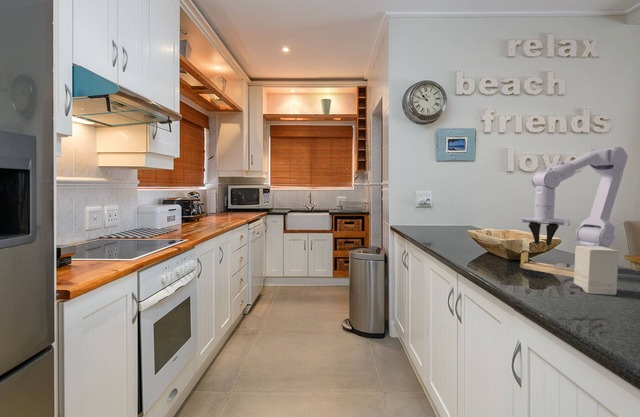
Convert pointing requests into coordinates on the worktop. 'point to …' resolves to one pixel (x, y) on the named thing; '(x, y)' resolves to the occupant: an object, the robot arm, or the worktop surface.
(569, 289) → the worktop surface
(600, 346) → the worktop surface
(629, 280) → the worktop surface
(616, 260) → the supplement box
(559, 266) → the lever cap
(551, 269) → the board
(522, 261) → the lever
